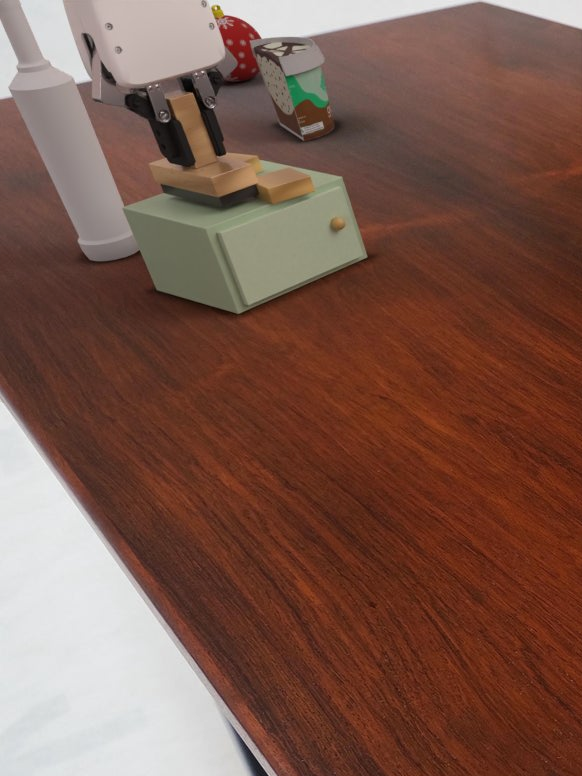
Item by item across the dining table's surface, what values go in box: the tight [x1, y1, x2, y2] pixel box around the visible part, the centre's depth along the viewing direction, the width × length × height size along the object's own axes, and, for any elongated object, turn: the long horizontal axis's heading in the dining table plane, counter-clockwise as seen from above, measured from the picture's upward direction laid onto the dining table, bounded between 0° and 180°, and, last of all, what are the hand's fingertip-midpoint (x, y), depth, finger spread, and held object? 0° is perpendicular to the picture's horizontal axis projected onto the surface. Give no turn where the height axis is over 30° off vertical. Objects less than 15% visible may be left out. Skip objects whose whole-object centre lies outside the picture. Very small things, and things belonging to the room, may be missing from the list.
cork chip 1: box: [220, 152, 263, 174], centre depth 120 cm, size 4×4×2 cm
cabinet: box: [122, 159, 368, 315], centre depth 119 cm, size 14×14×8 cm
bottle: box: [0, 0, 140, 262], centre depth 120 cm, size 5×5×25 cm
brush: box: [148, 89, 259, 207], centre depth 113 cm, size 4×9×9 cm, turn 60°
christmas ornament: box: [210, 4, 263, 83], centre depth 176 cm, size 9×9×10 cm
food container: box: [250, 36, 335, 142], centre depth 157 cm, size 12×6×10 cm, turn 41°
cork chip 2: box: [255, 167, 315, 204], centre depth 116 cm, size 4×4×2 cm
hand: (197, 157), depth 113 cm, fingers closed on brush, 2 cm apart
